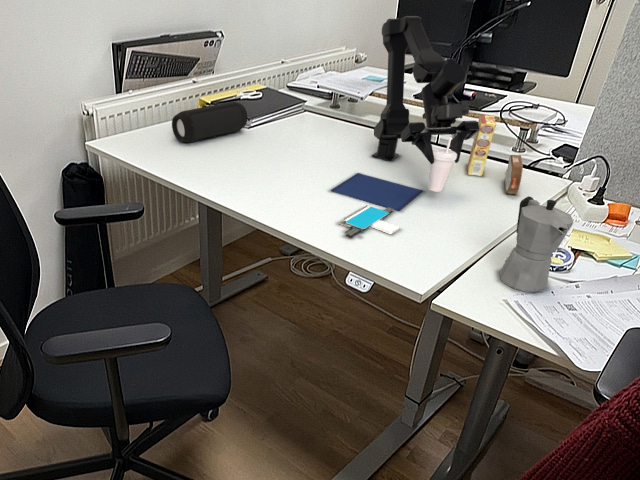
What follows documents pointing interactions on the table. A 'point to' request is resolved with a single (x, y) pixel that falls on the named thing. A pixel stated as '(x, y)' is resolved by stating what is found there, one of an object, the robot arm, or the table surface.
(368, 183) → the cloth
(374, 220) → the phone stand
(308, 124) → the table surface
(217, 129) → the portable speaker
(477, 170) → the candy box
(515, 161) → the tin
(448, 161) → the smoothie
